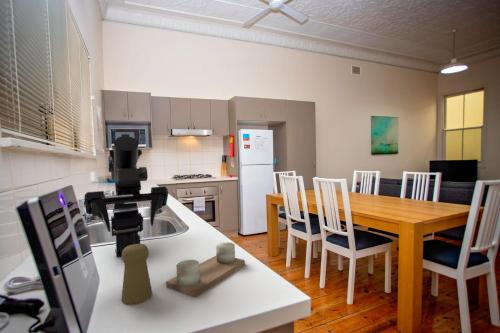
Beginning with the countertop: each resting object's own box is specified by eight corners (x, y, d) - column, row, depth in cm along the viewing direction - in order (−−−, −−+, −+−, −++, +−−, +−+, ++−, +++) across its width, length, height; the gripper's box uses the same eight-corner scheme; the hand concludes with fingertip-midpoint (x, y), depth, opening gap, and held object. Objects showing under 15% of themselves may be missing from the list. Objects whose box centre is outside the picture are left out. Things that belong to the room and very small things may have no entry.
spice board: (166, 286, 60) (165, 264, 59) (218, 258, 76) (218, 240, 75) (195, 297, 55) (194, 272, 55) (244, 264, 71) (244, 245, 71)
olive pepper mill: (158, 293, 57) (156, 243, 56) (132, 308, 51) (130, 252, 51) (140, 287, 60) (138, 239, 59) (115, 299, 55) (112, 247, 54)
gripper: (83, 157, 61) (81, 213, 52) (165, 156, 70) (176, 203, 61) (87, 188, 68) (85, 241, 59) (161, 183, 77) (170, 229, 68)
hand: (131, 227), depth 62 cm, fingers open, 9 cm apart
